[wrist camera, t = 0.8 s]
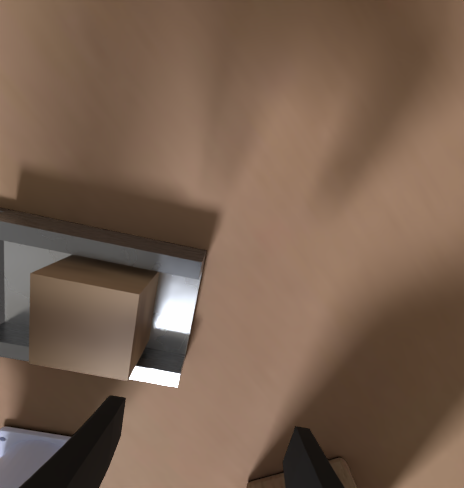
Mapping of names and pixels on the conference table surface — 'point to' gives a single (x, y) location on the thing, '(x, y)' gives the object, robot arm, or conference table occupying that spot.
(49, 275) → the walnut block
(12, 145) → the conference table surface
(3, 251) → the chute
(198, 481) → the conference table surface
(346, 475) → the wooden block
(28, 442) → the robot arm
